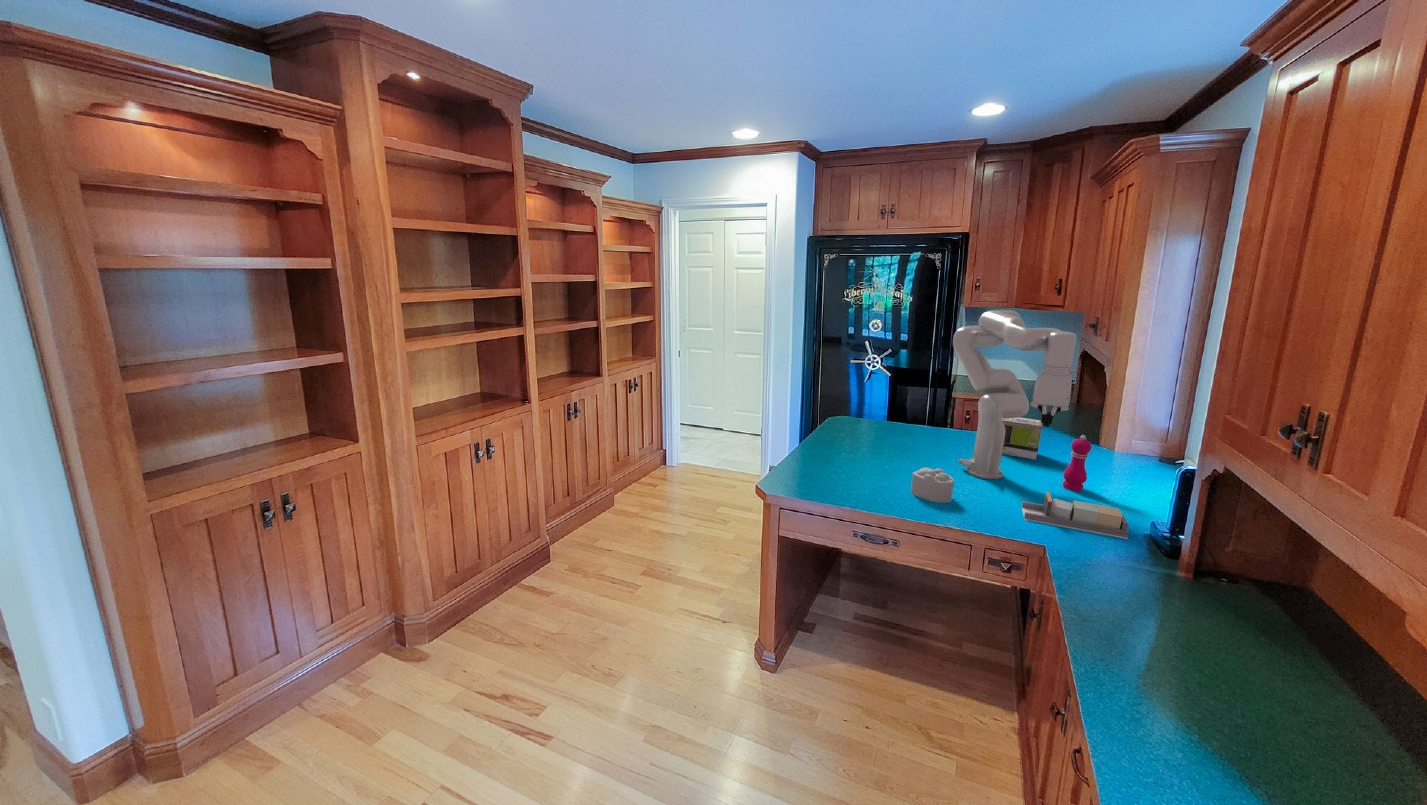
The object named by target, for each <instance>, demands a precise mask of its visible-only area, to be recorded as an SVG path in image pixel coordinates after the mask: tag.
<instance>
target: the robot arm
mask: <svg viewBox="0 0 1427 805" xmlns="http://www.w3.org/2000/svg"><path fill="white" fill-rule="evenodd" d="M1077 339H1078V338H1077V334H1076V333H1074V332H1070V331H1064V330H1063V331H1062V330H1060V329H1058V328H1056V327H1055V328H1054V327H1026V324H1025V322H1024V320H1023V319H1022V316H1021V315H1020V313H1019V312H1017V311H1015V310H1009V309H1007V310H1006V309H1000V310H999V309H998V310H997V309H995V310H994V309H991V310H987V311H985V312H983V313H982V314H981V315H980V316H979V318H978V325H965V326H961V327H960V328H957V329H956V331H955V332H954V334H953V339H952V347H953V351H954V353H955V356H956V357H957V358H958V360H959V361H960V363H961V365H962V366H963V368H964V370H965V372H966V374H967V377H968V379H969V381H970V383H971V386H972V387H973V389H974V391H975V392H976V393H978V394H980V395H981V394H982V396H981V397H980V398H979V399H978V403H977V404H978V405H977V408H978V409H977V412H978V421H977V429H976V435H975V440H974V441H975V442H974V448H973V453H972V457H971V458H970V459H964V458H959V460H958V464H961V465H962V467H963V466H964V467H966V472H967V473H968V474H969V475H971V476H974V477H977V478H980V479H985V480H1000V479H1002V478H1003V476H1004V472H1003V471H1002V470H1000V467H1001V462H1002V461H1001V460H1002V455H1003V454H1002V450H1003V444H1004V439H1005V432H1006V430H1005V426H1004V424H1003V422H1002V419H1003V418H1018V417H1020V418H1023V417H1024V416H1026V415H1027V414H1028V413H1029V411H1030V410H1029V409H1030V406H1031V407H1032V408H1035V409H1038V410H1039V411H1040V412H1041V416H1040V418H1041V419H1040V420H1041V423H1042V427H1044V428H1045V427H1047V428H1049V427H1050V425H1053V419H1054V416H1055V415H1056V414H1057V413H1058V414H1059V412H1064V411H1065V412H1066V411H1069V409H1070V408H1069V405H1070V401H1071V394H1072V385H1073V384H1072V383H1073V382H1072V381H1073V380H1072V375H1071V374H1076V371H1077V369H1076V368H1073V367H1072V364H1073V360H1074V355H1075V354H1074V353H1075V348H1076V344H1077ZM1003 343H1005V345H1007V346H1008V347H1011V348H1014V349H1016V350H1020V351H1024V352H1045V355H1044V359H1043V360H1044V361H1043V366H1042V369H1041V370H1042V371H1041V372H1039V373H1038V375H1037V377H1036V380H1035V384H1034V387H1033V392H1032V395H1031V399H1032V400H1031V401H1030V403H1029V400H1028V399H1029V398H1028V397H1027V394H1026V392H1025V390H1024V389H1023V387H1022V384H1021V383H1020V381H1019V378H1018V377H1017V375H1016V374H1015V373H1014V372H1013V371H1012V370H1010V369H1007V368H993V367H992V366H991V365H990V363H989V361H988V358H987V357H986V356H985V355H984V353H982V352H980V351H979V350H978V349H977V348H983V349H984V348H996V347H997V346H1000V345H1001V344H1003ZM1048 407H1050V410H1049V411H1048V409H1047V408H1048Z"/></svg>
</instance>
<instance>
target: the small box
mask: <svg viewBox="0 0 1427 805" xmlns="http://www.w3.org/2000/svg"><path fill="white" fill-rule="evenodd" d="M1073 505H1074V504H1073V502H1069V501H1066V500H1060V499H1058V498H1053V499H1052V505H1051V510H1050V515H1049V516H1050V517H1056V518H1061V519H1067V520H1069V519H1070V517H1071V513H1072V509H1073Z"/></svg>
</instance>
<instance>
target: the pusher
mask: <svg viewBox="0 0 1427 805" xmlns="http://www.w3.org/2000/svg"><path fill="white" fill-rule="evenodd" d="M1052 501H1053V499H1052V496H1051V493H1050V492H1045V494H1044V500H1043V504H1042V505H1043V509H1042V512H1043V515H1045V516H1049V515H1050V510H1051V505H1052Z"/></svg>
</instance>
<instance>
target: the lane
mask: <svg viewBox="0 0 1427 805" xmlns="http://www.w3.org/2000/svg"><path fill="white" fill-rule="evenodd" d="M1042 509H1043V504H1041V503H1036V502H1035V503H1034V502H1031V501H1030V502H1029V501H1023V500H1022V502H1021V510H1022V514H1023V518H1024V520H1025V521H1030V522H1035V523H1041V524H1046V525H1051V526H1057V527H1062V528H1068V529H1072V530H1073V529H1074V530H1078V531H1084V532H1089V533H1094V534H1098V535H1099V534H1100V535H1105V536H1109V537H1115V538H1116V537H1117V538H1121V539H1126V540H1129V539H1128V537H1129V533H1130V532H1129V530H1128V526H1129V522H1128V520H1127V519H1126V517H1125V515H1124V514H1123V513H1122V512H1121V514H1122V521H1121V525H1120V529H1116V528H1111V527H1105V526H1100V525H1094V524H1089V523H1083V522H1078V521H1072V520H1071V519H1069V520H1067V519H1061V518H1056V517H1050V516H1045V515H1043V512H1042Z"/></svg>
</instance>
